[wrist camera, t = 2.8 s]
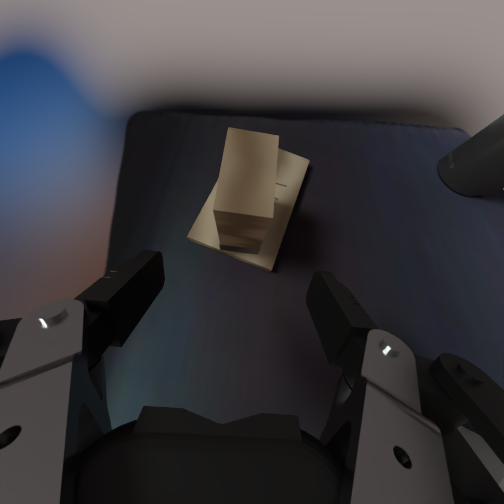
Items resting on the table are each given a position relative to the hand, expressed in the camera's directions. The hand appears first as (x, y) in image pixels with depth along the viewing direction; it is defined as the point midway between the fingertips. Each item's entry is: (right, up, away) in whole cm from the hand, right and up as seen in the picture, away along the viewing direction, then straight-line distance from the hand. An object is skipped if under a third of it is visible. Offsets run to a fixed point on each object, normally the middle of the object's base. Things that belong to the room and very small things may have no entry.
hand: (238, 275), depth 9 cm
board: (+1, +10, +18) cm, 21 cm away
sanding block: (0, +6, +15) cm, 16 cm away
